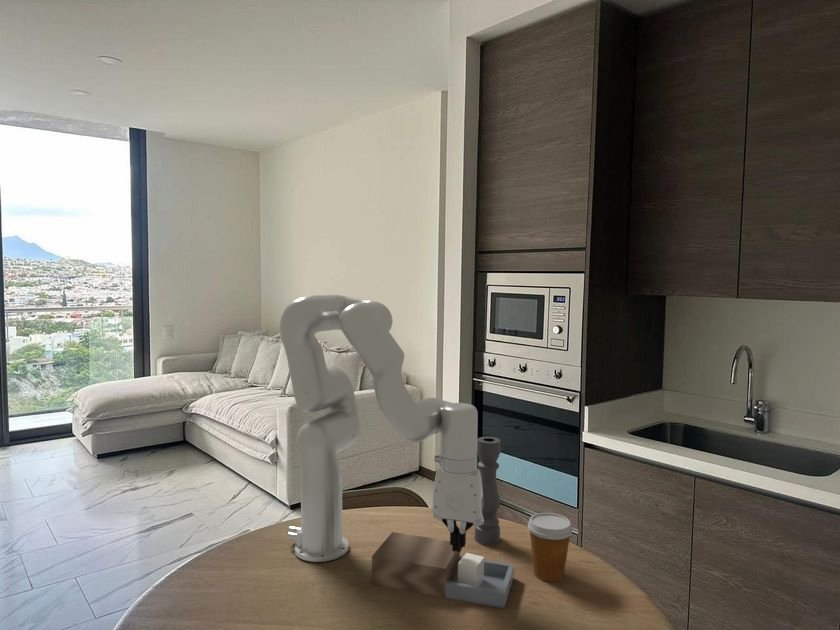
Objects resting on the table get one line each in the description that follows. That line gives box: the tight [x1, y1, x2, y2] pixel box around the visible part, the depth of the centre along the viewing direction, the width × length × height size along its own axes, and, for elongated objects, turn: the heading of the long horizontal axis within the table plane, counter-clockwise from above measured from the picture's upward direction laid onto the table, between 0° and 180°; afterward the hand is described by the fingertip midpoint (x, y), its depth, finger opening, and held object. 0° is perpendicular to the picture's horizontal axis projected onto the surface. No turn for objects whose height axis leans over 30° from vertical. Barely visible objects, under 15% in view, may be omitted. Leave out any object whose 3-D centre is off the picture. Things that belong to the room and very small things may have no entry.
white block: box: [458, 552, 485, 586], centre depth 119 cm, size 5×5×4 cm
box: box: [444, 555, 515, 610], centre depth 118 cm, size 12×12×3 cm
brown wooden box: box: [371, 531, 461, 598], centre depth 122 cm, size 16×12×6 cm
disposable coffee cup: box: [527, 512, 573, 583], centre depth 123 cm, size 10×10×12 cm
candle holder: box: [474, 436, 501, 546], centre depth 139 cm, size 6×6×25 cm
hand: (457, 548), depth 119 cm, fingers closed
